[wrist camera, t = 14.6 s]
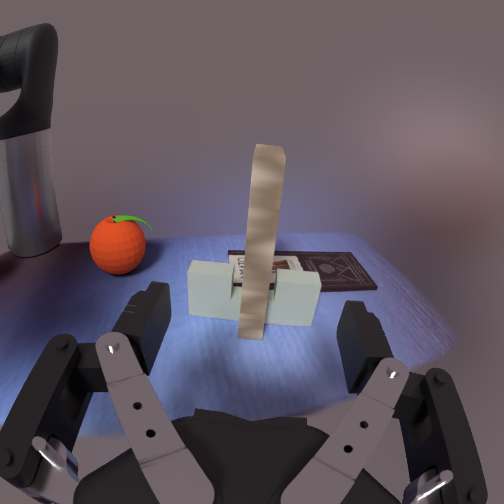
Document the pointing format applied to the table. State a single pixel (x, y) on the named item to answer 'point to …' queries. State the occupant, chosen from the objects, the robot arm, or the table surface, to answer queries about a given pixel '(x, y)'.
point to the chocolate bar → (313, 269)
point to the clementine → (118, 244)
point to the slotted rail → (229, 297)
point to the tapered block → (260, 237)
